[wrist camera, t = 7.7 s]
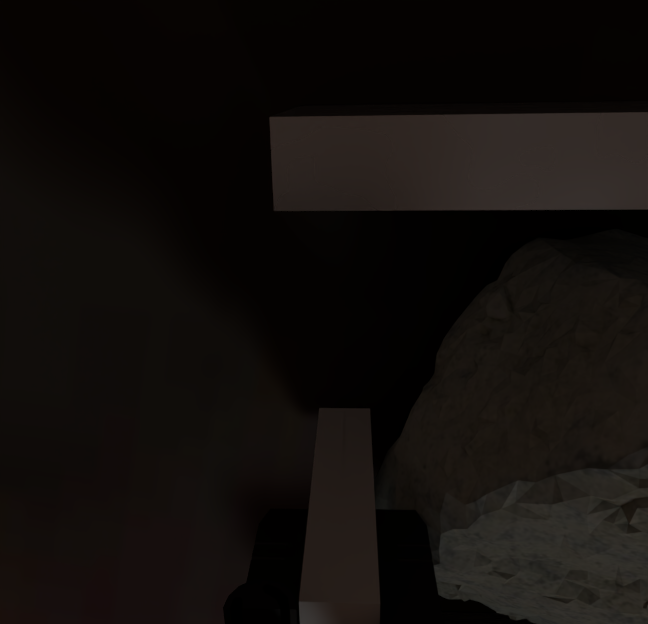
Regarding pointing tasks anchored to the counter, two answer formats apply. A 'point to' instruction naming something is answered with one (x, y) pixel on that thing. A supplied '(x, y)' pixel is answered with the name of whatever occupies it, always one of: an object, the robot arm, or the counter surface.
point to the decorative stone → (539, 438)
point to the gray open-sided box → (461, 166)
